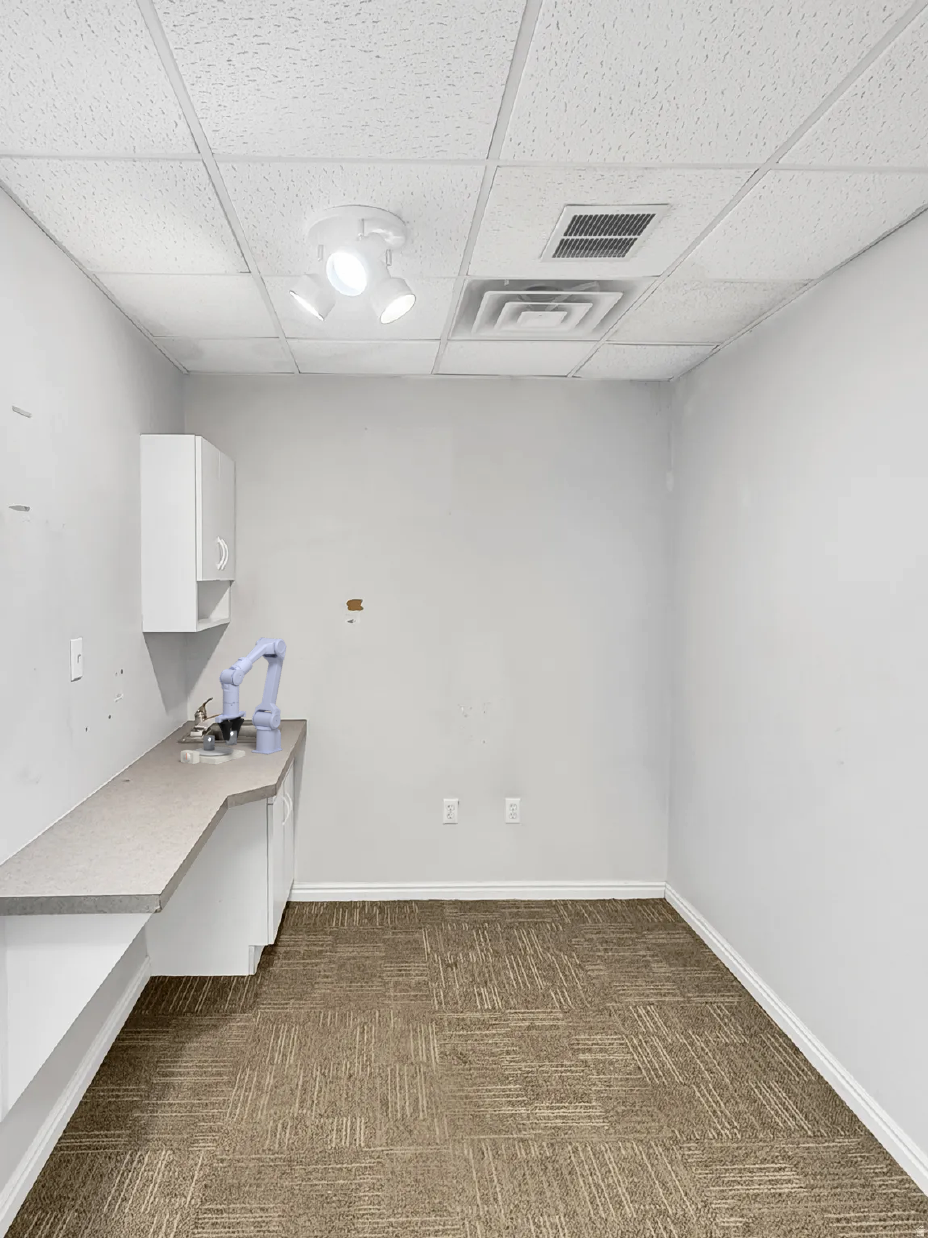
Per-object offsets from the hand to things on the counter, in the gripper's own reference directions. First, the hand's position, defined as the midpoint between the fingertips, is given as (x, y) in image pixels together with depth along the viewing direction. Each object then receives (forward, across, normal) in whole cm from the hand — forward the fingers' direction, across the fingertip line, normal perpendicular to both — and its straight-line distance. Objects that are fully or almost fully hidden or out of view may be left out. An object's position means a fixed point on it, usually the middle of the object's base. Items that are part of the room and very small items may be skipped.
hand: (230, 739), depth 305 cm
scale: (+8, 0, -10) cm, 13 cm away
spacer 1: (+6, -2, -12) cm, 13 cm away
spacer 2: (+2, 0, 0) cm, 2 cm away
